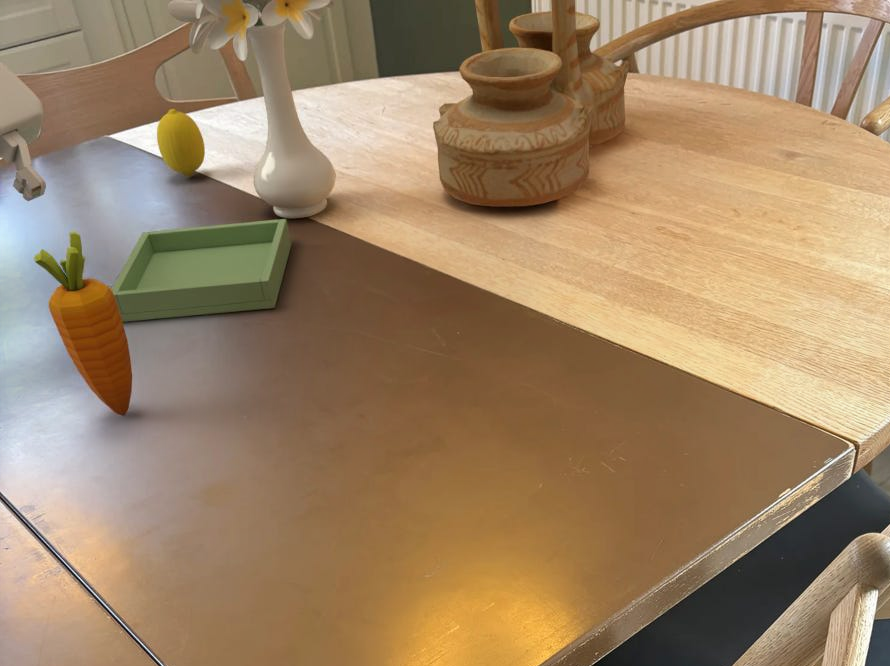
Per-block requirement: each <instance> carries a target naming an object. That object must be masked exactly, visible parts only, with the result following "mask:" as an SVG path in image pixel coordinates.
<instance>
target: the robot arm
mask: <svg viewBox="0 0 890 666" xmlns="http://www.w3.org/2000/svg"><path fill="white" fill-rule="evenodd" d="M43 120H44V107H43V103H42V101H41V100H40V98H39V97H38V96H37V95H36V94H35V92H33V91H32V89H30V88H29V86H28V85H27V84H26V83H25V82H23V81H22V80H21V79H20V78H19V77H18V76H17V75H16V74H15V73H14V72H13V71H11V70H10V69H9V67H7V66H6V65H5V64H4V63H2V62H1V61H0V158H1V159H2V160H3V161H4V162H5V163H6V164H7V165H11V164H13V163H14V165H15V169H16V172H15V177H14V178H15V179H14V181H13V184H12V187H13V188H14V189H15V190H16V191H17V192H18V193H19V194H22V198H23V199H24V200H25V201H26V202H30V201H32V200H35V199H38V198H40V197H41V196H44V194H45V191H46V188H47V184H46V183H47V182H46V181H45V180H44V178H43V177H42V175H40V174H39V172H37V170H36V168H34V167H33V163H32V159H31V155H30V151H29V147H28V145H29V144H31V143H34V142H35V141H36V140H38V138H39V135H40V134H41V133H40V132H41V129H42V125H43Z"/></svg>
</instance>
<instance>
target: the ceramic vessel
mask: <svg viewBox="0 0 890 666" xmlns="http://www.w3.org/2000/svg"><path fill="white" fill-rule="evenodd" d="M550 2H551V10H549V11H536V12H535V11H534V12H530V13H526V14H521V15H518V16H516V17H514V18H512V19H511V20H510V21H509V25H508V29H509V31H510V32H511V33H512V35H513V36H514V37H515V39H516V40H517V43H518V47H505V42H504V36H503V30H502V23H501V18H500V17H501V16H500V9H499V1H498V0H474V4H475V10H476V11H475V12H476V17H477V23H478V30H479V38H480V43H481V44H480V45H481V52H478V53H475V54H473V55H472V56H470V57H467V58H466V59H465V60H463V62H462V63H461V65H460V66H459V74H460V76H461V79H462V80H463V81H465V83H467V85H468V86H469V87H470V89H471V90H472V94H471V95H468V96H467V97H465V98H463V99H461V100H459V101H457V102H456V103H453V102H449V103H443V104H442V105H441V106H439V108H438V112H439V116H440V118H439V119H437V120H435V121H433V123H432V129H433V133H434V138H435V143H436V146H437V165H438V174H439V181H440V183H441V186H442V188H443V189H444V191H445V192H446V193H447V194H449V195H450V196H451V197H452V198H454V199H455V200H458V201H461V202H464V203H467V204H470V205H476V206H485V207H528V206H536V205H541V204H546V203H549V202H553V201H557V200H560V199H563V198H566V197H567V196H568V195H570V194H572V193H574V192H576V191H577V190H579V189H580V188H581V187H582V186H583V185H585V183H586V182H587V179H588V177H589V174H590V148H591V147H595V146H597V145H598V146H599V145H600V144H603V143H605V142H608V141H610V140H611V139H613V138H615V137H617V136H618V135H619V134H620V133H621V132H622V131H623V129H624V127H625V125H626V105H625V86H626V81H627V77H628V74H629V70H630V62H629V60H623V61H622V62H621V63H620V65H617V64H616V63H615V62H614V61H611V60H609V59H607V58H605V57H603V56H600V55H598V54H596V53H595V52H592V50H591V43H592V39H593V37H594V36H595V34H596V33H598V31H599V29H600V27H601V21H600V18H597V17H595V16H593V15H591V14H587V13H583V12H579V11H576V0H551V1H550Z"/></svg>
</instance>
